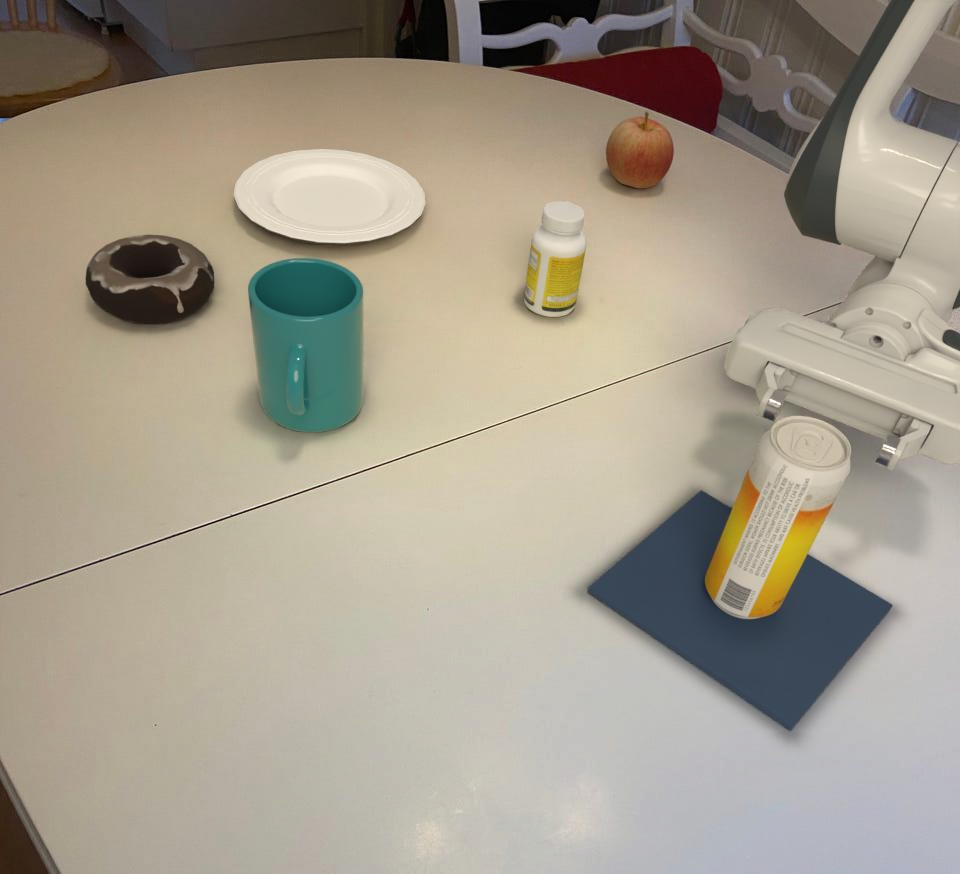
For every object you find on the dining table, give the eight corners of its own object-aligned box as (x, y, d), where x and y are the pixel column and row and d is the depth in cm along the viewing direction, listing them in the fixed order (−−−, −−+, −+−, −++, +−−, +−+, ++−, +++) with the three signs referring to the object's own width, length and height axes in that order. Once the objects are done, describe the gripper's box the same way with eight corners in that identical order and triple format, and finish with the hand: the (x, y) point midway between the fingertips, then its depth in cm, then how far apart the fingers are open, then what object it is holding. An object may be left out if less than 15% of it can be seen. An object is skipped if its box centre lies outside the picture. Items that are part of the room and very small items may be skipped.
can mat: (890, 609, 75) (893, 604, 75) (790, 731, 67) (793, 726, 66) (699, 494, 82) (701, 489, 81) (587, 592, 73) (588, 587, 73)
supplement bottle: (584, 303, 99) (602, 210, 91) (557, 325, 96) (574, 231, 88) (540, 283, 101) (554, 191, 93) (512, 304, 98) (525, 210, 90)
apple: (599, 163, 119) (611, 95, 113) (662, 171, 120) (678, 103, 113) (601, 194, 114) (615, 124, 108) (667, 202, 115) (684, 132, 108)
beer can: (788, 583, 75) (865, 431, 63) (769, 636, 71) (847, 484, 60) (714, 555, 76) (776, 400, 65) (692, 605, 73) (754, 451, 61)
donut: (87, 334, 88) (77, 295, 85) (94, 265, 95) (85, 227, 92) (218, 330, 90) (213, 292, 87) (215, 263, 97) (210, 225, 94)
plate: (351, 281, 97) (350, 263, 96) (194, 212, 103) (191, 194, 102) (460, 205, 109) (461, 188, 108) (314, 147, 115) (314, 131, 114)
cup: (243, 453, 80) (228, 335, 71) (270, 367, 87) (259, 251, 79) (352, 464, 80) (350, 348, 71) (369, 377, 88) (369, 263, 79)
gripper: (769, 272, 80) (709, 349, 72) (1014, 360, 75) (980, 454, 67) (746, 337, 85) (688, 416, 77) (975, 425, 80) (938, 520, 72)
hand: (826, 435), depth 72 cm, fingers open, 8 cm apart
